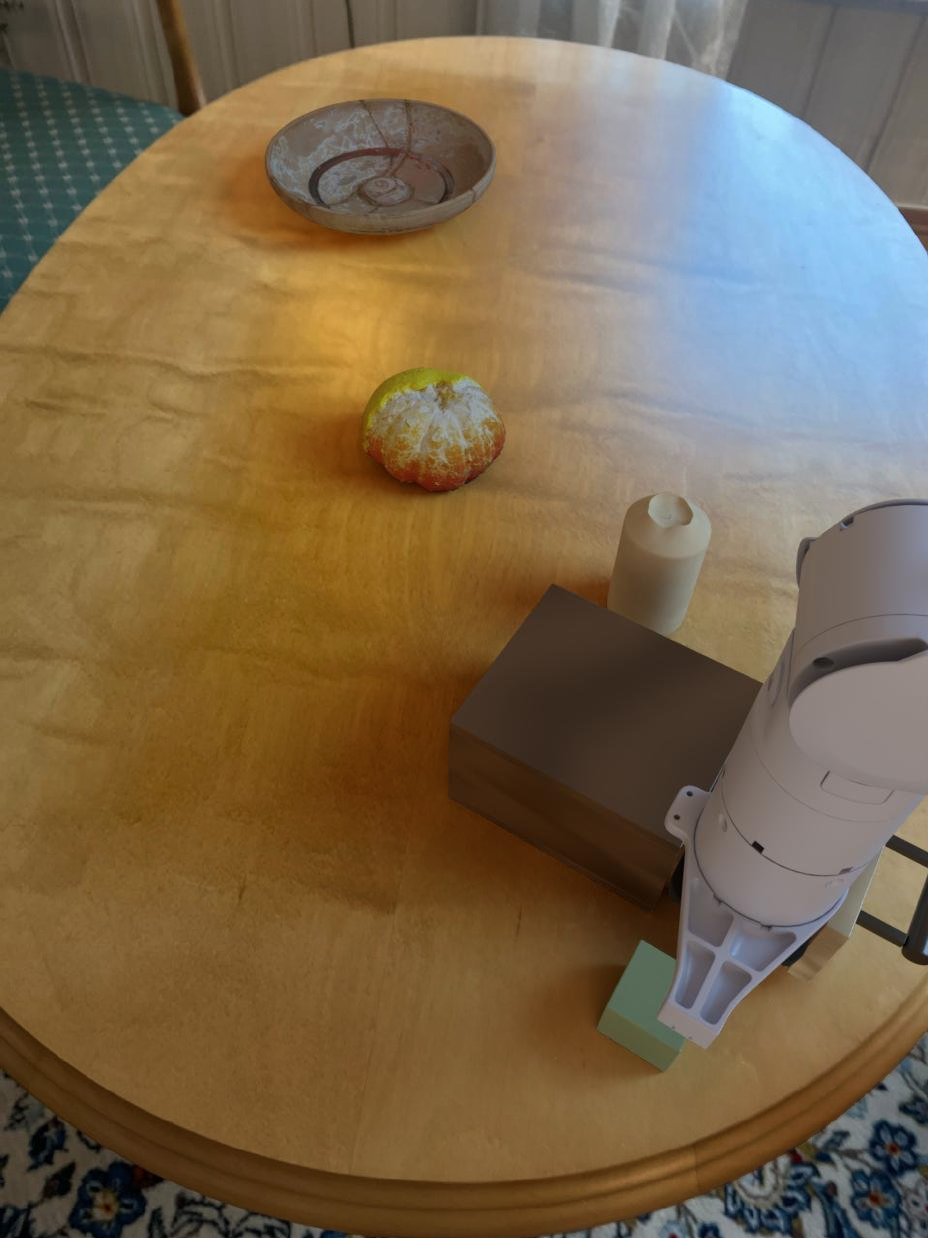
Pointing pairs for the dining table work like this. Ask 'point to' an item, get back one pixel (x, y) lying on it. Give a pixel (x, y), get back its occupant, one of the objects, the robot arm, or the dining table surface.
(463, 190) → the ceramic bowl
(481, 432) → the fruit
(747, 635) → the dining table surface
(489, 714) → the cabinet
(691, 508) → the beige bottle
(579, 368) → the dining table surface
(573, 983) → the dining table surface
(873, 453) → the dining table surface
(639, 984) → the block
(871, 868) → the drawer
